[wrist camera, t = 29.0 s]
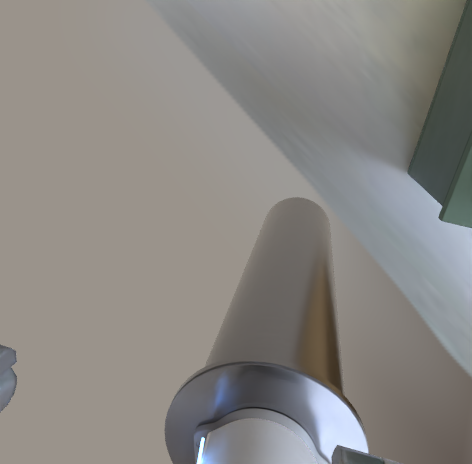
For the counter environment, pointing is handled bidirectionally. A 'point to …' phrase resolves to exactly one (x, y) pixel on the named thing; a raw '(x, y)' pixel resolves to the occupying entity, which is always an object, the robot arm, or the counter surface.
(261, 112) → the counter surface
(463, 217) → the lid
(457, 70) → the chest
